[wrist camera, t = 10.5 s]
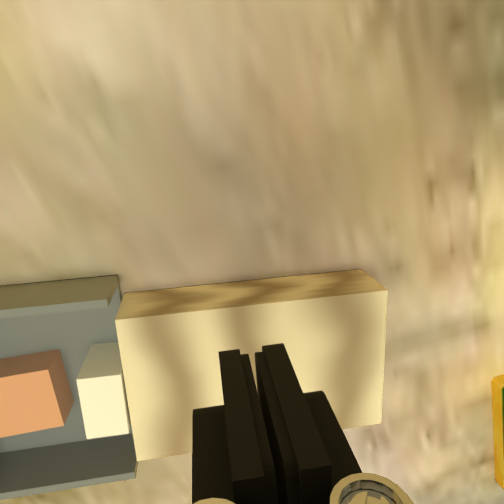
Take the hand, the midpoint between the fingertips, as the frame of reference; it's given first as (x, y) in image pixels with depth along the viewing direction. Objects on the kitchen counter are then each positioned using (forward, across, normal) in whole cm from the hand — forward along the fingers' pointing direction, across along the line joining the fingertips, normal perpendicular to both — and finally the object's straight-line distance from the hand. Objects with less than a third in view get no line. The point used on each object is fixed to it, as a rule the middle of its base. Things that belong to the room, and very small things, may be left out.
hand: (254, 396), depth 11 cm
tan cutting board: (+23, -2, +12) cm, 26 cm away
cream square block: (+20, +8, +13) cm, 25 cm away
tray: (+23, +14, +12) cm, 29 cm away
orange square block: (+19, +16, +13) cm, 28 cm away
